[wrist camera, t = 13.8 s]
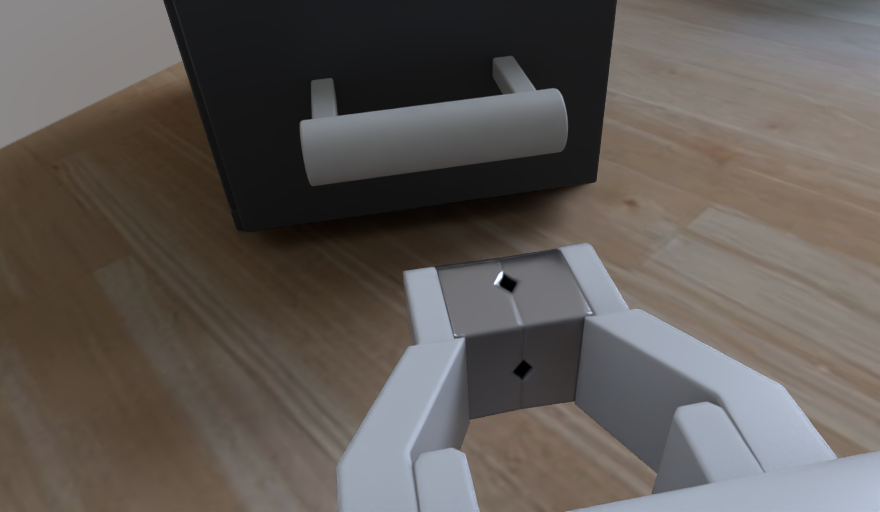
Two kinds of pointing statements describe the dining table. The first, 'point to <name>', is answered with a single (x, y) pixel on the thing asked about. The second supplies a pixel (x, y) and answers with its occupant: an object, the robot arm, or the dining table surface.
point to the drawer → (398, 100)
